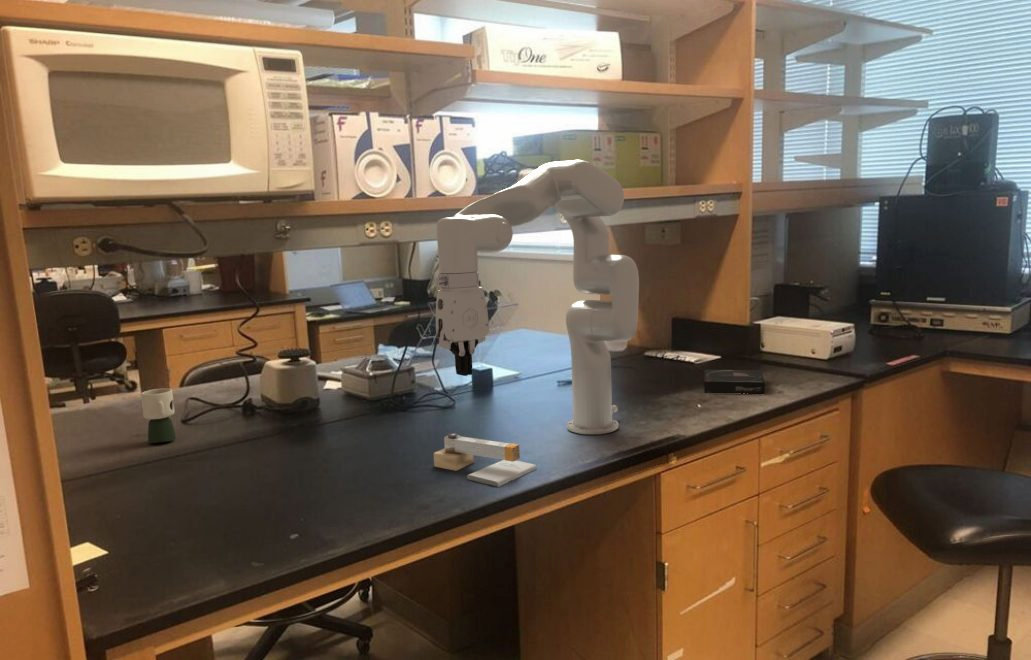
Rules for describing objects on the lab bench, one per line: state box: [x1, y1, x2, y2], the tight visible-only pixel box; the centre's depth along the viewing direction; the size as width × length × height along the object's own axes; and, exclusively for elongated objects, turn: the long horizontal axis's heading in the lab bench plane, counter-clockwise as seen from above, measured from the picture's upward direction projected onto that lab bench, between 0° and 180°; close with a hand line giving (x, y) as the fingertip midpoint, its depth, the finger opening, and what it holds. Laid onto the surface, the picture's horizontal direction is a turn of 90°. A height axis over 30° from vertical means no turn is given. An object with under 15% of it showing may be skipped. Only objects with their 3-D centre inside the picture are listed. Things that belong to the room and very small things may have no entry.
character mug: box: [140, 387, 177, 444], centre depth 190 cm, size 11×7×13 cm, turn 34°
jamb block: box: [433, 447, 475, 471], centre depth 165 cm, size 6×6×3 cm
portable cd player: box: [703, 369, 766, 395], centre depth 224 cm, size 16×17×4 cm
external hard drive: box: [466, 459, 537, 488], centre depth 158 cm, size 2×8×12 cm
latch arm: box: [443, 432, 521, 462], centre depth 160 cm, size 18×4×3 cm, turn 58°
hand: (464, 374), depth 150 cm, fingers closed
